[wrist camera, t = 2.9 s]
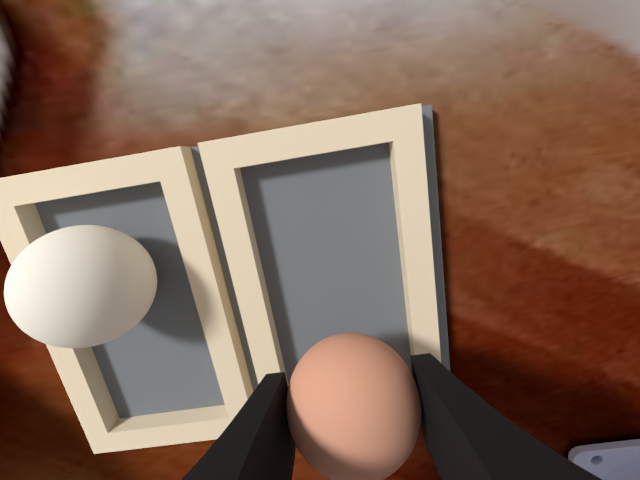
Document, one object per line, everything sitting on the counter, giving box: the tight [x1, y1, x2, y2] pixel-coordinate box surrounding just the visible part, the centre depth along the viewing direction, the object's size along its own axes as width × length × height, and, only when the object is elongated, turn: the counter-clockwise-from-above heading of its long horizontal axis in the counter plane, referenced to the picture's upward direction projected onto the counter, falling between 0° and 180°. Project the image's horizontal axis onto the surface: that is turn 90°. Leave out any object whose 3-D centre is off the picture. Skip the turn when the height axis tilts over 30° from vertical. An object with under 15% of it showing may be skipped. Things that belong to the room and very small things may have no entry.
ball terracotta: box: [286, 333, 421, 480], centre depth 9 cm, size 4×4×4 cm
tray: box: [0, 103, 450, 454], centre depth 12 cm, size 17×12×1 cm
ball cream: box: [4, 225, 157, 348], centre depth 10 cm, size 4×4×4 cm
